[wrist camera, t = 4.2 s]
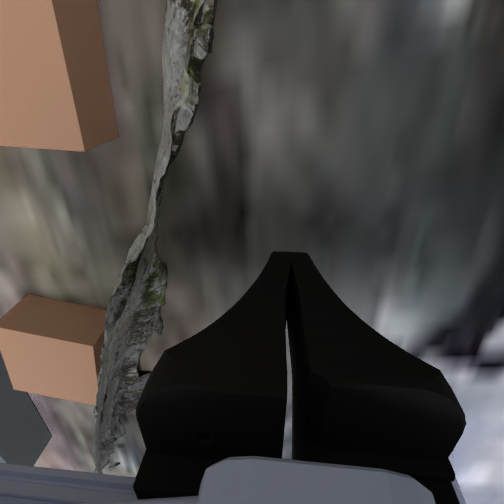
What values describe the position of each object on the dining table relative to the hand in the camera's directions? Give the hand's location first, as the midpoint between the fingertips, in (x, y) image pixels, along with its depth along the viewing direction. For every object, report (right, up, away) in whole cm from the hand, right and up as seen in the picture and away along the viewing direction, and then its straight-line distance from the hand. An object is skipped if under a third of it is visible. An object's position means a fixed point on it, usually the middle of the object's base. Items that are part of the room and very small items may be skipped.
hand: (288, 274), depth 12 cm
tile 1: (-8, +7, -1) cm, 11 cm away
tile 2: (-11, -4, +5) cm, 12 cm away
